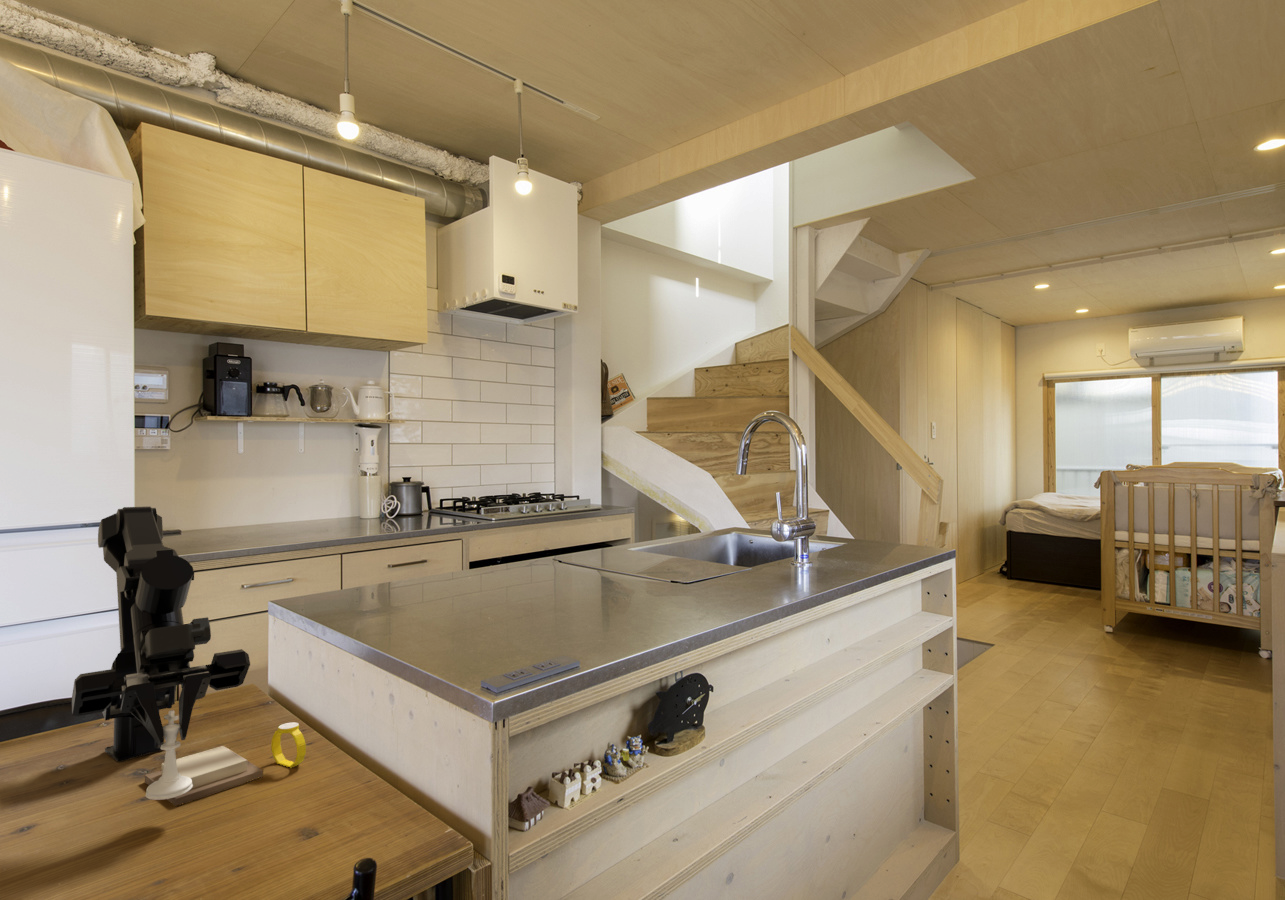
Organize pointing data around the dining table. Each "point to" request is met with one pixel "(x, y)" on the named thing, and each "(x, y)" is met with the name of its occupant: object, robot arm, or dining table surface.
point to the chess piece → (169, 766)
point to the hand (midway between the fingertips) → (172, 741)
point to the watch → (299, 740)
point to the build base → (210, 786)
